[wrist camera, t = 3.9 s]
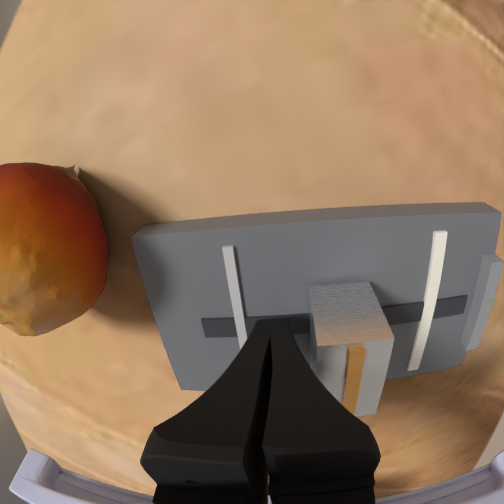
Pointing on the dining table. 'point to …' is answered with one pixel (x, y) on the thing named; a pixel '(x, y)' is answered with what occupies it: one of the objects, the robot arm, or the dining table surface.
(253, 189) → the dining table surface
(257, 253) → the board
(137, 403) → the dining table surface
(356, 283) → the fader cap
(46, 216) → the fruit
